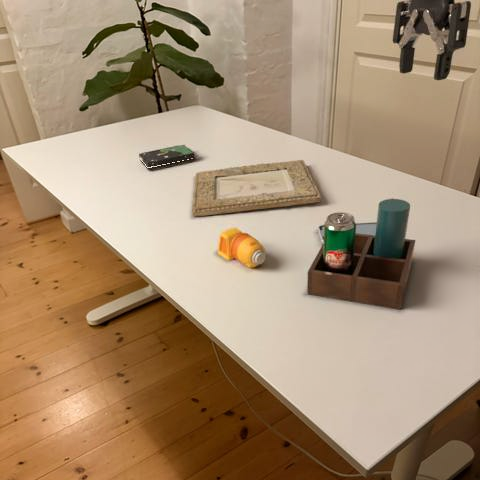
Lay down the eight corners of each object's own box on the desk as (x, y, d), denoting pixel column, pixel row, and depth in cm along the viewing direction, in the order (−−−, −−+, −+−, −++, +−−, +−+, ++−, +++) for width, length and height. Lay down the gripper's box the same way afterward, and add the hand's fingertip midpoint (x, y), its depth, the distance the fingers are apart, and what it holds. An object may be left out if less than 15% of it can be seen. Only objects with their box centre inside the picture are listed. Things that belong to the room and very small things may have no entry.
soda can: (321, 288, 79) (323, 225, 72) (322, 273, 83) (325, 211, 76) (351, 290, 78) (357, 225, 71) (351, 274, 82) (356, 211, 75)
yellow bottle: (273, 266, 88) (237, 243, 96) (272, 241, 85) (235, 219, 93) (250, 277, 86) (215, 252, 94) (248, 251, 82) (212, 228, 90)
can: (402, 262, 84) (412, 200, 77) (398, 276, 81) (408, 212, 73) (374, 258, 86) (381, 197, 79) (369, 272, 83) (376, 209, 75)
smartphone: (399, 238, 91) (322, 242, 91) (398, 242, 92) (322, 246, 92) (389, 221, 97) (317, 225, 97) (388, 225, 97) (317, 229, 98)
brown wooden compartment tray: (411, 262, 85) (415, 239, 82) (400, 309, 74) (403, 285, 72) (329, 251, 91) (330, 230, 88) (307, 294, 80) (307, 271, 77)
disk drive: (149, 172, 135) (196, 161, 139) (146, 163, 133) (194, 151, 137) (140, 162, 143) (185, 152, 147) (138, 153, 141) (183, 143, 145)
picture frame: (196, 177, 129) (194, 168, 127) (303, 165, 128) (303, 155, 127) (193, 219, 108) (191, 209, 106) (322, 204, 107) (322, 193, 106)
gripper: (496, -53, 64) (472, 78, 73) (425, -47, 74) (412, 67, 84) (453, -47, 62) (433, 86, 72) (386, -41, 72) (377, 74, 82)
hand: (422, 75), depth 78 cm, fingers open, 8 cm apart
